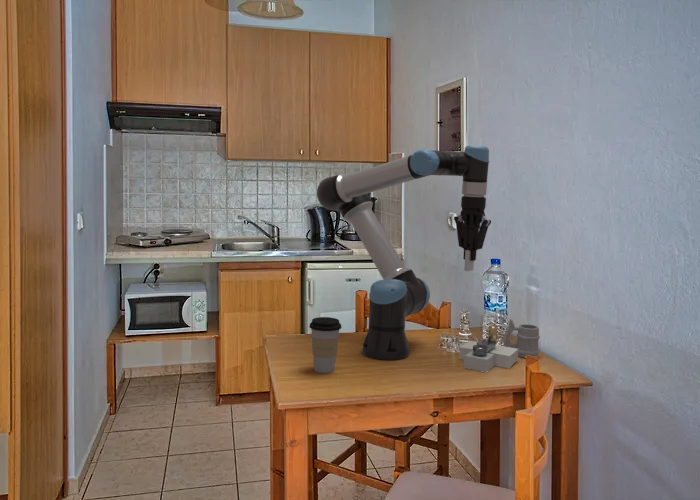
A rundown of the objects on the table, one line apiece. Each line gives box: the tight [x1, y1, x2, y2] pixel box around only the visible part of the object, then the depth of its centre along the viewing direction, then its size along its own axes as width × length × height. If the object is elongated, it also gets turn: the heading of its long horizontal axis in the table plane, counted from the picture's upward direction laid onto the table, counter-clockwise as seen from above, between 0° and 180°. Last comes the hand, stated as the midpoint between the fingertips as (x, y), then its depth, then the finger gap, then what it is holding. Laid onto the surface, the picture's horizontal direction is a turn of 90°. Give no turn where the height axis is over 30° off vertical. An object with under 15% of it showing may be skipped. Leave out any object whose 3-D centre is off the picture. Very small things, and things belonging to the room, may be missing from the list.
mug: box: [502, 318, 540, 358], centre depth 208 cm, size 8×12×12 cm, turn 87°
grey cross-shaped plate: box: [458, 338, 519, 369], centre depth 201 cm, size 16×10×6 cm, turn 60°
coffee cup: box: [309, 316, 343, 374], centre depth 185 cm, size 9×9×15 cm
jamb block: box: [463, 343, 495, 373], centre depth 193 cm, size 7×7×8 cm
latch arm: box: [473, 324, 499, 356], centre depth 197 cm, size 14×4×7 cm, turn 147°
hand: (468, 270), depth 201 cm, fingers closed
